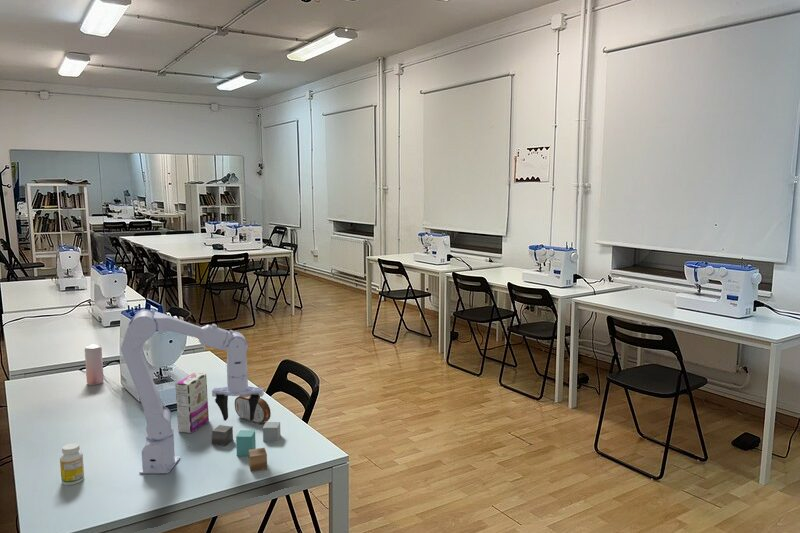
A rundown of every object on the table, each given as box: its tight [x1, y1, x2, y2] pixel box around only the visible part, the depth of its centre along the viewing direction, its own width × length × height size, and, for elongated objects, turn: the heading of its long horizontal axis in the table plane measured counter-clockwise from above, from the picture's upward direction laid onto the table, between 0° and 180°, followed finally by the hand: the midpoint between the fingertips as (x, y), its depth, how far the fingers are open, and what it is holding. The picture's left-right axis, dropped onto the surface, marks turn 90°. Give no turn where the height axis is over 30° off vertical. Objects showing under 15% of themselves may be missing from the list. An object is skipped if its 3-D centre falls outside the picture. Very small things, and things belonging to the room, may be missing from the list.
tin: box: [234, 396, 272, 425], centre depth 198 cm, size 15×3×8 cm, turn 57°
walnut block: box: [248, 447, 268, 473], centre depth 166 cm, size 4×4×4 cm
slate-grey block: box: [262, 421, 281, 442], centre depth 185 cm, size 4×4×4 cm
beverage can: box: [84, 344, 105, 386], centre depth 234 cm, size 6×6×15 cm
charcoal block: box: [211, 424, 234, 447], centre depth 182 cm, size 4×4×4 cm
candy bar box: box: [175, 372, 210, 434], centre depth 193 cm, size 11×5×16 cm, turn 168°
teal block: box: [235, 429, 257, 457], centre depth 175 cm, size 4×4×6 cm
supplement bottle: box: [59, 442, 85, 486], centre depth 157 cm, size 5×5×10 cm
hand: (239, 419), depth 173 cm, fingers open, 7 cm apart
